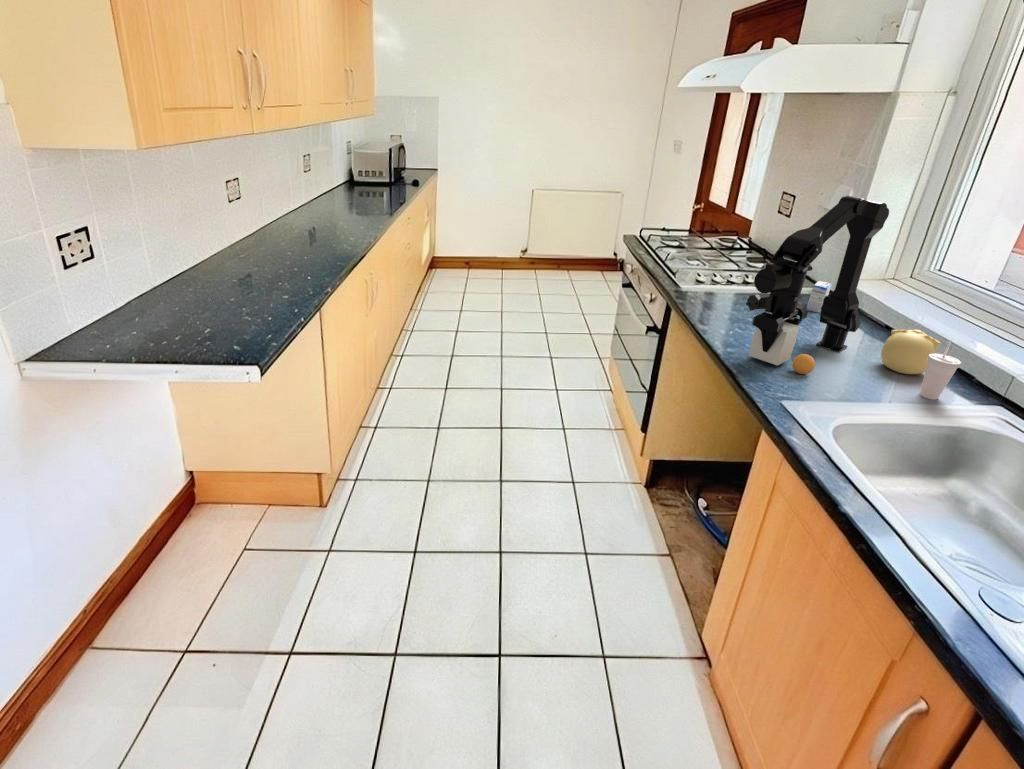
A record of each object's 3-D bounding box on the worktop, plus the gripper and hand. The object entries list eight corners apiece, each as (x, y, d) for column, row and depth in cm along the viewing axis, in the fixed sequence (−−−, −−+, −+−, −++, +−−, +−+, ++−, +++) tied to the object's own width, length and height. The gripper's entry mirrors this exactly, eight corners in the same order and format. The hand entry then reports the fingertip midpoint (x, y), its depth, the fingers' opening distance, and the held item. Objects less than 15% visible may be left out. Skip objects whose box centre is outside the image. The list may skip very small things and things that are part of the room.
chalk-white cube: (790, 358, 147) (799, 326, 144) (777, 365, 142) (787, 332, 139) (761, 348, 152) (770, 317, 148) (748, 355, 147) (756, 323, 143)
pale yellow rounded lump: (931, 371, 150) (948, 332, 145) (921, 383, 142) (938, 343, 137) (883, 357, 157) (897, 319, 152) (870, 368, 149) (885, 329, 144)
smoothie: (932, 390, 138) (955, 336, 132) (951, 402, 133) (976, 347, 126) (906, 389, 138) (929, 335, 132) (925, 401, 132) (949, 345, 126)
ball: (794, 367, 146) (800, 349, 144) (814, 374, 143) (820, 355, 140) (786, 372, 143) (792, 353, 140) (806, 379, 139) (813, 360, 137)
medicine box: (810, 304, 198) (817, 280, 194) (824, 307, 196) (832, 283, 192) (805, 309, 192) (813, 284, 188) (819, 313, 190) (828, 287, 186)
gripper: (773, 275, 150) (758, 331, 157) (739, 286, 139) (725, 346, 145) (816, 286, 143) (798, 343, 150) (785, 298, 131) (767, 360, 138)
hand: (771, 347), depth 146 cm, fingers closed on chalk-white cube, 8 cm apart
